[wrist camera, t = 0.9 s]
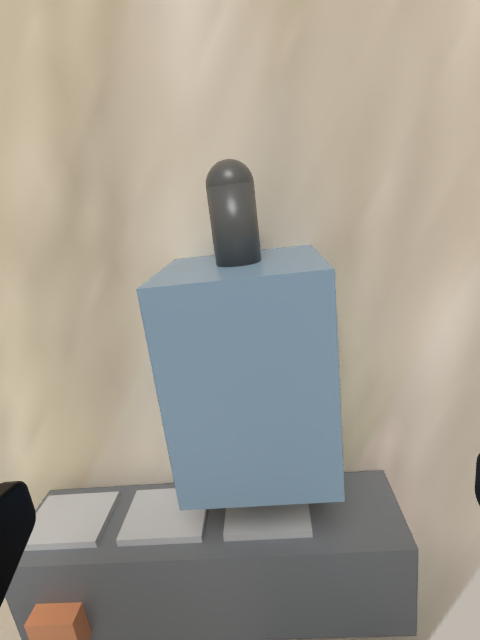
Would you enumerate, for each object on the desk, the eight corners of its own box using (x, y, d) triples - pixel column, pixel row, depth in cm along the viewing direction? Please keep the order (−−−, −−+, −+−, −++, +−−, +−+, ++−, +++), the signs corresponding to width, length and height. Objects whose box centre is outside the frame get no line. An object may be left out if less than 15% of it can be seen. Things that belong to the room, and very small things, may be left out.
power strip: (384, 543, 18) (425, 660, 14) (70, 557, 19) (12, 669, 15) (383, 464, 17) (427, 564, 12) (48, 485, 18) (-24, 582, 14)
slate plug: (323, 450, 17) (346, 549, 12) (208, 457, 18) (188, 555, 13) (305, 156, 14) (328, 135, 9) (162, 174, 14) (112, 164, 9)
